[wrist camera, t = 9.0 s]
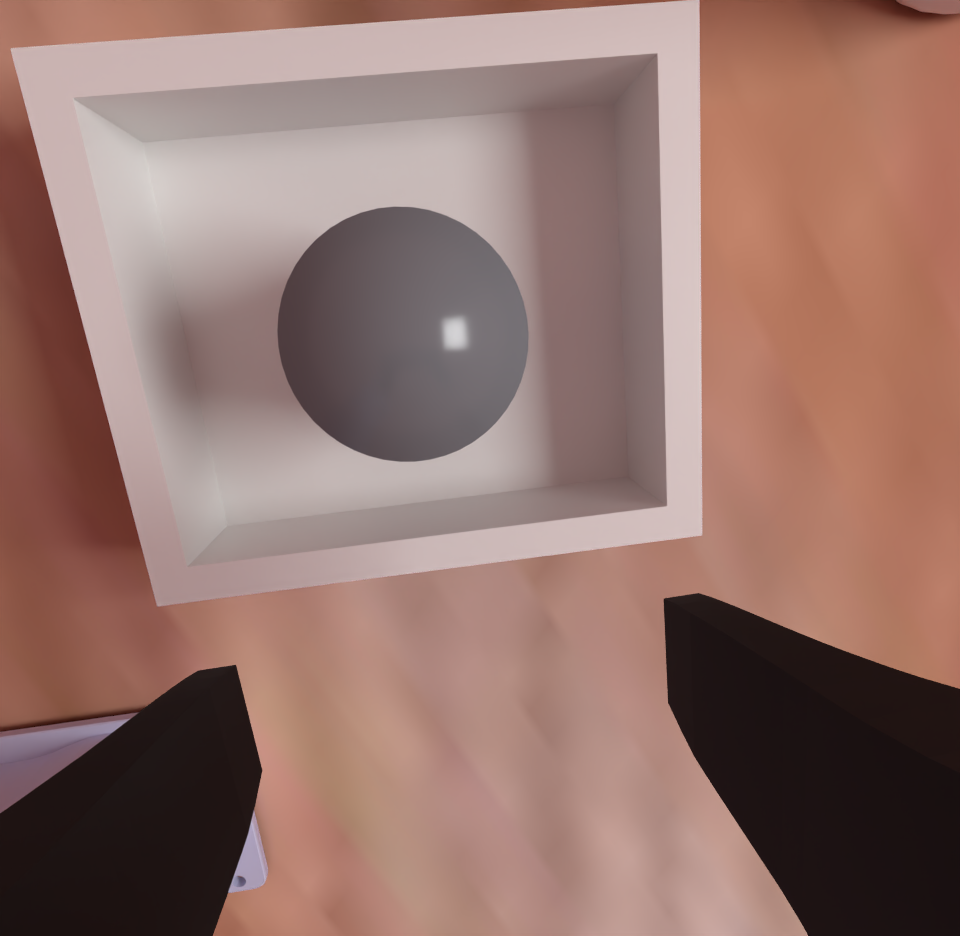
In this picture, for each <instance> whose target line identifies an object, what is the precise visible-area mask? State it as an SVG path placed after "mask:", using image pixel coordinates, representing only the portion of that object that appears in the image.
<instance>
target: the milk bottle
mask: <svg viewBox="0 0 960 936" xmlns="http://www.w3.org/2000/svg"><path fill="white" fill-rule="evenodd" d="M896 1H897V2H898V3H900V4H902V5H905V6H908V7H911V8H913V9H915V10H918V11H920V12H929V13H937V14H959V13H960V0H896Z"/></svg>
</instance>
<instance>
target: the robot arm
mask: <svg viewBox="0 0 960 936" xmlns="http://www.w3.org/2000/svg"><path fill="white" fill-rule="evenodd" d="M664 617H665V640H666V664H667V687H668V703H669V705H670V708H671V710H672V712H673V714H674V716H675V718H676V720H677V722H678V725H679V727H680V729H681V731H682V733H683V735H684V737H685V739H686V741H687V743H688V745H689V747H690V749H691V751H692V753H693V755H694V757H695V758H696V760H697V762H698V763H699V765H700V766H701V768H702V769H703V771H704V773H705V774H706V776H707V777H708V779H709V780H710V782H711V783H712V785H713V786H714V788H715V790H716V791H717V793H718V794H719V796H720V797H721V799H722V800H723V802H724V803H725V805H726V807H727V808H728V810H729V811H730V813H731V814H732V816H733V817H734V819H735V820H736V822H737V823H738V825H739V826H740V828H741V829H742V831H743V832H744V834H745V835H746V837H747V838H748V840H749V841H750V843H751V845H752V846H753V848H754V849H755V851H756V852H757V854H758V855H759V857H760V858H761V860H762V861H763V863H764V864H765V866H766V867H767V869H768V870H769V872H770V873H771V875H772V876H773V878H774V879H775V881H776V883H777V884H778V886H779V887H780V889H781V890H782V892H783V893H784V895H785V897H786V898H787V900H788V902H789V903H790V905H791V907H792V908H793V910H794V912H795V913H796V915H797V917H798V918H799V920H800V922H801V923H802V925H803V927H804V929H805V930H806V932H807V934H808V936H960V689H958V688H955V687H951V686H948V685H944V684H941V683H938V682H934V681H931V680H927V679H924V678H921V677H918V676H915V675H911V674H908V673H905V672H902V671H899V670H896V669H893V668H890V667H887V666H885V665H882V664H879V663H876V662H874V661H871V660H868V659H865V658H862V657H860V656H857V655H854V654H851V653H849V652H846V651H843V650H840V649H838V648H835V647H833V646H830V645H828V644H825V643H822V642H820V641H817V640H815V639H812V638H810V637H807V636H805V635H802V634H800V633H797V632H795V631H793V630H790V629H788V628H785V627H783V626H781V625H778V624H776V623H773V622H771V621H769V620H766V619H764V618H761V617H759V616H757V615H754V614H752V613H750V612H747V611H745V610H742V609H740V608H738V607H735V606H733V605H730V604H728V603H725V602H723V601H720V600H717V599H715V598H712V597H709V596H706V595H702V594H699V593H697V594H690V595H684V596H677V597H671V598H665V599H664ZM261 774H262V767H261V763H260V759H259V755H258V751H257V747H256V743H255V739H254V735H253V731H252V727H251V723H250V719H249V715H248V711H247V707H246V703H245V699H244V695H243V691H242V687H241V683H240V679H239V675H238V671H237V667H236V665H232V666H226V667H219V668H213V669H206V670H200V671H197V672H195V673H194V674H192V675H190V676H189V677H187V678H185V679H184V680H182V681H181V682H180V683H178V684H177V685H175V686H174V687H172V688H171V689H170V690H168V691H167V692H166V693H164V694H163V695H161V696H160V697H159V698H157V699H156V700H155V701H153V702H152V703H151V704H149V705H148V706H147V707H145V708H144V709H143V710H141V711H140V712H138V713H131V714H123V715H116V716H109V717H102V718H95V719H88V720H81V721H74V722H67V723H60V724H53V725H46V726H39V727H32V728H24V729H17V730H10V731H3V732H0V936H213V933H214V930H215V928H216V925H217V922H218V919H219V916H220V914H221V911H222V908H223V905H224V902H225V900H226V897H227V894H228V893H231V892H238V891H244V890H250V889H255V888H258V887H261V886H262V885H263V884H264V883H265V881H266V878H267V875H268V866H267V862H266V858H265V854H264V850H263V846H262V842H261V837H260V833H259V829H258V825H257V821H256V817H255V812H254V807H255V803H256V798H257V793H258V788H259V783H260V779H261ZM238 876H242V877H238Z"/></svg>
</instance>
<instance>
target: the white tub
mask: <svg viewBox="0 0 960 936" xmlns="http://www.w3.org/2000/svg"><path fill="white" fill-rule="evenodd" d="M10 49H11V53H12V57H13V60H14V64H15V68H16V72H17V76H18V79H19V83H20V87H21V91H22V95H23V98H24V102H25V106H26V110H27V114H28V117H29V121H30V125H31V129H32V133H33V136H34V140H35V144H36V148H37V152H38V155H39V159H40V163H41V167H42V171H43V174H44V178H45V182H46V186H47V190H48V193H49V197H50V201H51V205H52V209H53V212H54V216H55V220H56V224H57V228H58V231H59V235H60V239H61V243H62V247H63V250H64V254H65V258H66V262H67V266H68V269H69V273H70V277H71V281H72V285H73V288H74V292H75V296H76V300H77V304H78V307H79V311H80V315H81V319H82V323H83V326H84V330H85V334H86V338H87V342H88V345H89V349H90V353H91V357H92V361H93V364H94V368H95V372H96V376H97V380H98V383H99V387H100V391H101V395H102V399H103V402H104V406H105V410H106V414H107V418H108V421H109V425H110V429H111V433H112V437H113V440H114V444H115V448H116V452H117V456H118V459H119V463H120V467H121V471H122V475H123V478H124V482H125V486H126V490H127V494H128V498H129V501H130V505H131V509H132V513H133V517H134V520H135V524H136V528H137V532H138V536H139V539H140V543H141V547H142V551H143V555H144V558H145V562H146V566H147V570H148V574H149V577H150V581H151V585H152V589H153V593H154V596H155V600H156V604H157V607H158V606H165V605H173V604H181V603H188V602H196V601H204V600H211V599H219V598H227V597H234V596H242V595H250V594H257V593H265V592H273V591H280V590H288V589H296V588H303V587H311V586H319V585H326V584H334V583H341V582H349V581H357V580H364V579H372V578H380V577H387V576H395V575H403V574H410V573H418V572H426V571H433V570H441V569H449V568H456V567H464V566H472V565H479V564H487V563H495V562H502V561H510V560H518V559H525V558H533V557H541V556H548V555H556V554H564V553H571V552H579V551H587V550H594V549H602V548H610V547H617V546H625V545H633V544H640V543H648V542H656V541H663V540H671V539H679V538H686V537H694V536H701V535H702V399H701V206H700V12H699V0H687V1H672V2H658V3H644V4H630V5H616V6H602V7H587V8H573V9H559V10H545V11H531V12H517V13H502V14H488V15H474V16H460V17H446V18H432V19H417V20H403V21H389V22H375V23H361V24H347V25H332V26H318V27H304V28H290V29H276V30H262V31H247V32H233V33H219V34H205V35H191V36H177V37H162V38H148V39H134V40H120V41H106V42H92V43H77V44H63V45H49V46H35V47H21V48H10ZM385 207H415V208H420V209H426V210H431V211H434V212H437V213H440V214H443V215H446V216H448V217H450V218H452V219H455V220H457V221H459V222H461V223H463V224H464V225H466V226H467V227H469V228H470V229H472V230H473V231H475V232H476V233H477V234H479V235H480V236H481V237H482V238H483V239H484V240H485V241H487V242H488V243H489V244H490V245H491V246H492V247H493V249H494V250H495V251H496V252H497V253H498V254H499V255H500V256H501V258H502V259H503V261H504V262H505V264H506V265H507V267H508V268H509V270H510V271H511V273H512V275H513V277H514V279H515V281H516V283H517V285H518V287H519V290H520V293H521V296H522V298H523V301H524V306H525V310H526V315H527V321H528V332H529V340H528V354H527V360H526V367H525V370H524V373H523V377H522V380H521V383H520V385H519V387H518V390H517V392H516V394H515V396H514V398H513V400H512V401H511V403H510V405H509V406H508V408H507V410H506V411H505V412H504V414H503V415H502V416H501V417H500V419H499V420H498V421H497V422H496V423H495V424H494V425H493V426H492V427H491V428H490V429H489V430H488V431H487V432H486V433H485V434H483V435H482V436H481V437H479V438H478V439H477V440H475V441H474V442H473V443H471V444H469V445H467V446H466V447H464V448H462V449H460V450H458V451H456V452H453V453H451V454H448V455H446V456H442V457H438V458H435V459H431V460H424V461H416V462H398V461H389V460H383V459H379V458H375V457H371V456H367V455H365V454H362V453H360V452H357V451H354V450H353V449H351V448H349V447H347V446H345V445H343V444H341V443H340V442H338V441H337V440H335V439H334V438H333V437H331V436H330V435H328V434H327V433H326V432H325V431H324V430H322V429H321V428H320V427H319V426H318V425H317V424H316V423H315V422H314V421H313V420H312V419H311V418H310V416H309V415H308V414H307V413H306V412H305V410H304V409H303V408H302V406H301V405H300V403H299V402H298V400H297V398H296V397H295V395H294V393H293V391H292V389H291V387H290V385H289V383H288V381H287V378H286V375H285V372H284V369H283V366H282V363H281V358H280V353H279V348H278V333H277V328H278V313H279V308H280V303H281V298H282V295H283V292H284V289H285V286H286V283H287V280H288V279H289V277H290V275H291V273H292V271H293V269H294V267H295V265H296V263H297V262H298V261H299V259H300V258H301V256H302V255H303V253H304V252H305V251H306V250H307V249H308V248H309V247H310V245H311V244H312V243H313V242H314V241H315V240H316V239H317V238H318V237H320V236H321V235H322V234H323V233H325V232H326V231H327V230H328V229H329V228H331V227H333V226H334V225H336V224H338V223H339V222H341V221H343V220H344V219H347V218H349V217H351V216H354V215H356V214H359V213H361V212H365V211H369V210H373V209H377V208H385Z"/></svg>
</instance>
